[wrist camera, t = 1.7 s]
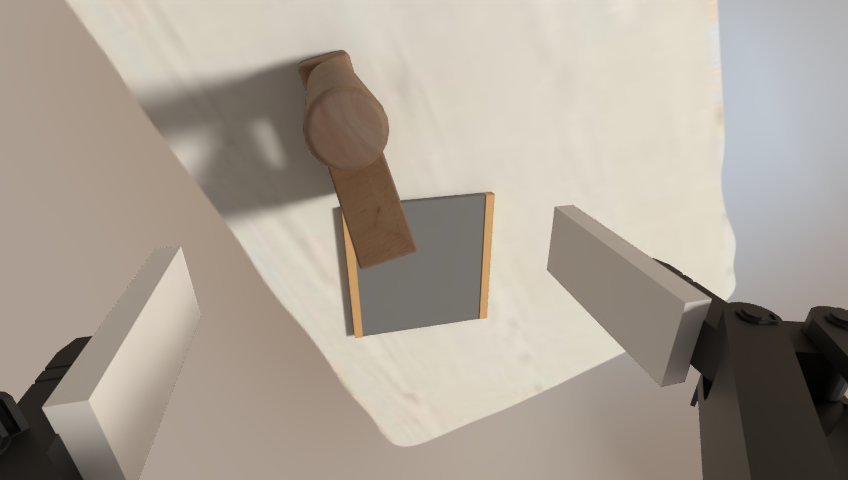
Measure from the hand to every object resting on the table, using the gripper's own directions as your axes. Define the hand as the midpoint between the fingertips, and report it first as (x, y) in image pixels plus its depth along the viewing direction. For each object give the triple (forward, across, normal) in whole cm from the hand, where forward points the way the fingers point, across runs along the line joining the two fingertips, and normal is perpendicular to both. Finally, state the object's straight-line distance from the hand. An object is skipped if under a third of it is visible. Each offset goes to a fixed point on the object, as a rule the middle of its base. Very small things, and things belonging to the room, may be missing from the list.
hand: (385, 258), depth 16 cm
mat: (+23, +6, -14) cm, 27 cm away
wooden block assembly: (+23, 0, 0) cm, 23 cm away
